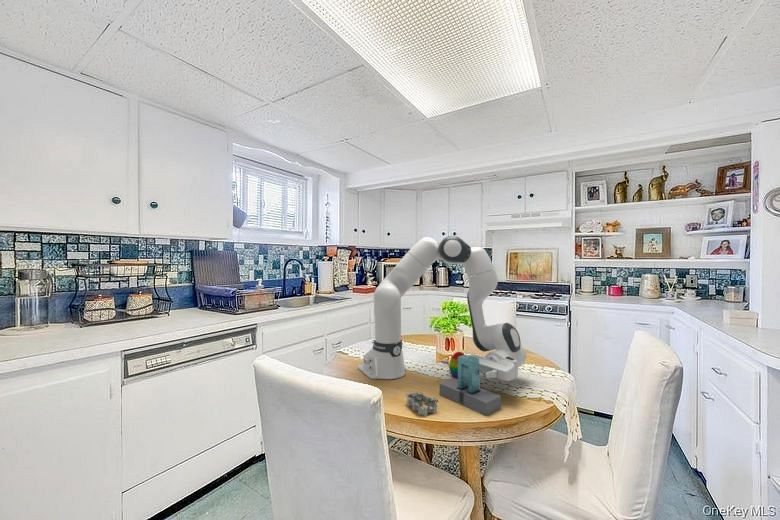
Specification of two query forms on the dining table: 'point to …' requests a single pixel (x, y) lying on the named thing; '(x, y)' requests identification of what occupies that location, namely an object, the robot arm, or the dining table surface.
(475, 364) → the clip
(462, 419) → the dining table surface
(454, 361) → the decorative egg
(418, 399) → the egg carton
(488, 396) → the grey slotted block
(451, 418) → the dining table surface
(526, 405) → the dining table surface
